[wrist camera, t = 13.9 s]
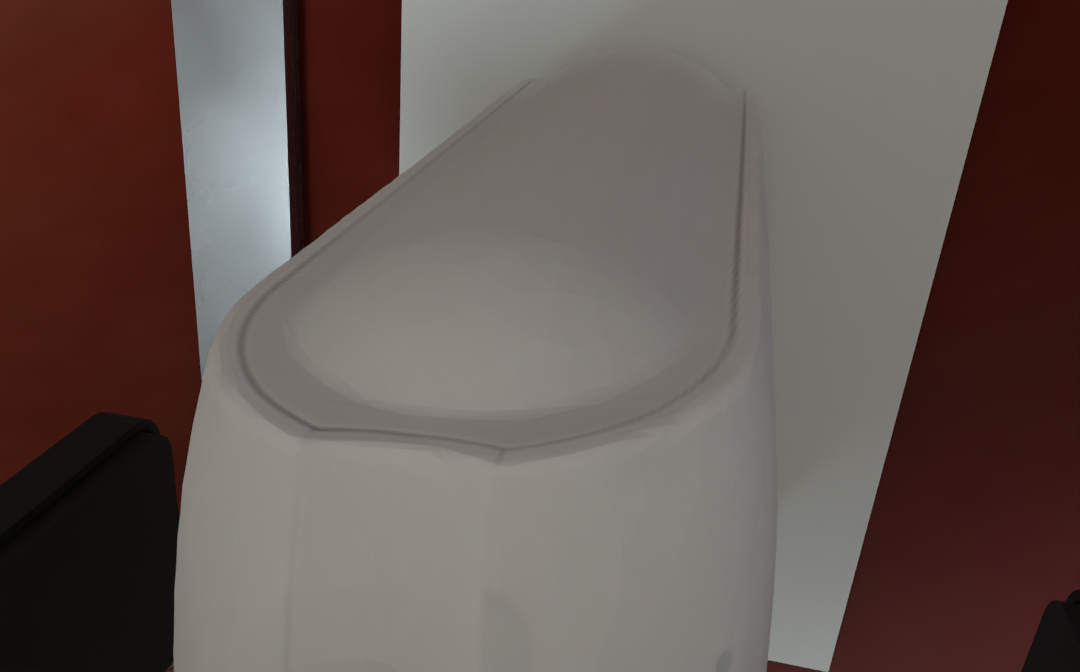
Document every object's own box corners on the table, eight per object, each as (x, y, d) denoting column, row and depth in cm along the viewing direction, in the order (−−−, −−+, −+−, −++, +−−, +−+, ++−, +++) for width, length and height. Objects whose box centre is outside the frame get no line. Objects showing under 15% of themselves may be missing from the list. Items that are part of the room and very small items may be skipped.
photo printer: (722, 596, 19) (673, 1611, 7) (507, 565, 19) (172, 1441, 8) (788, 49, 14) (902, 502, 3) (511, 37, 15) (-164, 369, 4)
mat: (826, 658, 19) (828, 672, 19) (399, 572, 20) (392, 583, 20) (1010, -34, 14) (1017, -33, 13) (411, -87, 15) (403, -88, 15)
